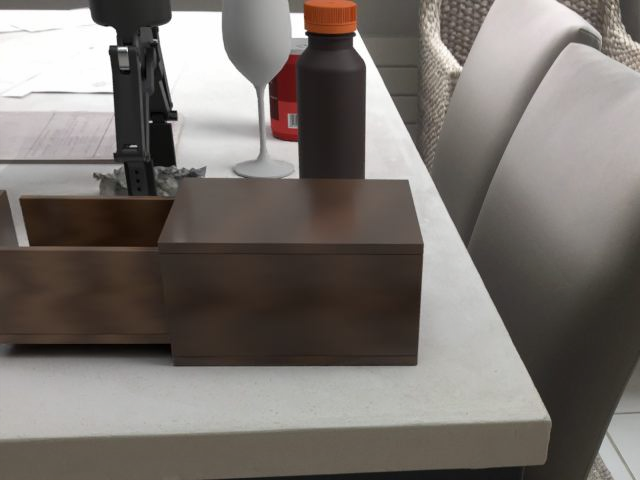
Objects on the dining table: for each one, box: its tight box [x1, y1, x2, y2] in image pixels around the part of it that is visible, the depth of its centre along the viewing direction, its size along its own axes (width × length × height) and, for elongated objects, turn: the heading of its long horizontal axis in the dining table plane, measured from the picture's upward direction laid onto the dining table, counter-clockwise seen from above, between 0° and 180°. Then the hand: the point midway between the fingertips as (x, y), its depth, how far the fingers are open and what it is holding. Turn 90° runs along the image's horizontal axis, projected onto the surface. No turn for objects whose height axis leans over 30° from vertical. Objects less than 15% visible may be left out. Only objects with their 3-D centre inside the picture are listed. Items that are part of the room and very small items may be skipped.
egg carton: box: [92, 165, 208, 196], centre depth 95 cm, size 11×8×4 cm
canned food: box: [267, 37, 308, 142], centre depth 117 cm, size 8×8×11 cm
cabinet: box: [157, 177, 425, 367], centre depth 71 cm, size 19×15×10 cm
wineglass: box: [221, 0, 295, 178], centre depth 101 cm, size 8×8×21 cm
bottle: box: [296, 0, 367, 179], centre depth 88 cm, size 7×7×20 cm
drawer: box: [0, 189, 176, 345], centre depth 70 cm, size 24×13×8 cm, turn 93°
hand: (157, 204), depth 96 cm, fingers open, 13 cm apart
